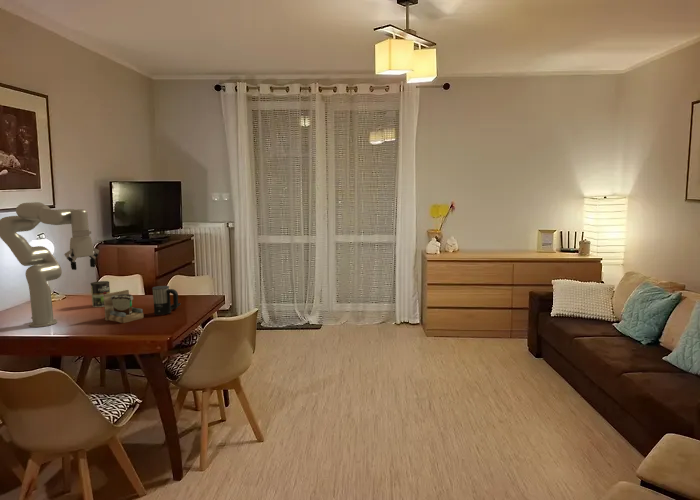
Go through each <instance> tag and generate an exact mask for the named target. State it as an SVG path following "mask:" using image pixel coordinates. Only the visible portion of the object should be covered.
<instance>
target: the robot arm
mask: <svg viewBox="0 0 700 500" xmlns="http://www.w3.org/2000/svg"><path fill="white" fill-rule="evenodd" d="M15 213H16V215H11V216H5V217H1V218H0V239H1V240H2V241H3V242H4V243H5V244H6V246H7V247H8V248H9V250H10V251H11V252H12V254H13V256H14V257H15V258H16V259H17V261H18V262H19V264H20V265H21V266H24V267H27V269H26V270H25V278H26V281H27V285H28V290H29V297H30V298H29V299H30V308H31V310H30V311H31V318H30V319H31V322H30V323H29V324H28V326H29V327H31V328H42V327H47V326H48V327H49V326H52V325H56V324H57V323H58V320H57V319H54V310H53V309H54V308H53V298H52V297H53V296H52V290H51V287H50V286H49V284H48V282H51V281H53V280H57V279H59V278H60V277H61V276H62V273H63V271H62V268H61V266H60V263H59V262H58V261H57V260H56V258H55V257H54V255H53V254H52V252H51V251H50V249H48V248H47V247H45V246H41V245H39V246H38V245H37V246H33V245H31V244H30V243H29V242H28V241H27V239H26V238H25V237H23V235H21V234H19V233H20V232H21V233H22V232H29V231H32V230H34V229H35V228H36V227H37V226H38V225H39V224H40V223H42V224H45V225H51V226H52V225H53V226H62V225H71V234H72V237H70V239H69V240H70V241H69V250H68V251H66V252H65V253H64V254H63V255H64V257H65V258H66V260H67V261H69V262H70V269H71V270H73V271H77V262H76V260H77V259H79V258H85V257H86V258H87V257H88V258H90V259H89V265H90V268H96V259H97V258H98V256H99V252H100V250H99V249H97V248H96V247H94V245H93V240H92V237H91V236H90V235H91V234H92V231H91V230H90V228H89V226H90V225H89V217H88V210H86V209H75V208H65V209H64V208H63V209H60V208H59V209H51V208H50V206H48V205H45V204H44V203H42V202H36V201H35V202H34V201H33V202H23V203H19V205H17V206H16V209H15Z"/></svg>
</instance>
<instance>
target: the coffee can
mask: <svg viewBox="0 0 700 500" xmlns="http://www.w3.org/2000/svg"><path fill="white" fill-rule="evenodd" d="M110 289H111V288H110V281H108V280H102V281H101V280H100V281H99V280H98V281H94V282H90V290H91V291H90V292H91V303H92V307H93V308H102V307H103V308H104V296H103V294H108V293H111V290H110Z"/></svg>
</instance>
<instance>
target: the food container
mask: <svg viewBox="0 0 700 500" xmlns="http://www.w3.org/2000/svg"><path fill="white" fill-rule="evenodd" d="M111 300H112V303H113V309H114V311H117V312H123V313H126V315H131V314H132V307H133V300H134V296H133V295H132V294H131V293H129V294H120V295H113V296H111Z"/></svg>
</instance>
